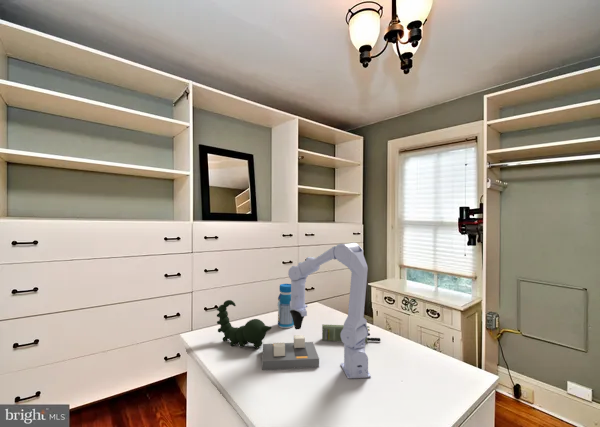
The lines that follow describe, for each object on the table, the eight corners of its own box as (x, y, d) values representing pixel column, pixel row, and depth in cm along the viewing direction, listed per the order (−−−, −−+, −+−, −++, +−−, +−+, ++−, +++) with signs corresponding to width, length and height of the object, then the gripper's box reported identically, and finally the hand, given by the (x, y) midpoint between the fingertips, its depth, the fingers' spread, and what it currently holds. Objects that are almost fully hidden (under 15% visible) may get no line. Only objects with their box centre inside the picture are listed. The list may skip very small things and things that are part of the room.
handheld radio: (322, 338, 126) (379, 340, 124) (322, 341, 122) (381, 344, 120) (322, 323, 126) (379, 325, 124) (322, 326, 122) (381, 328, 120)
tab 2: (304, 347, 108) (304, 338, 108) (294, 348, 108) (294, 338, 108) (303, 344, 111) (303, 335, 111) (293, 344, 111) (293, 335, 111)
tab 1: (284, 355, 101) (285, 346, 102) (273, 356, 101) (273, 346, 101) (284, 352, 104) (284, 342, 105) (273, 352, 104) (273, 343, 104)
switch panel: (319, 367, 100) (319, 358, 100) (262, 370, 98) (262, 361, 98) (312, 349, 114) (312, 341, 114) (262, 351, 112) (262, 343, 112)
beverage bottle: (284, 330, 134) (285, 287, 135) (274, 325, 140) (274, 284, 141) (297, 325, 140) (298, 285, 140) (287, 321, 146) (287, 282, 146)
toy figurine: (213, 349, 118) (267, 354, 109) (211, 302, 119) (264, 304, 110) (227, 340, 126) (277, 344, 118) (224, 297, 127) (274, 297, 119)
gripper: (314, 298, 110) (313, 334, 110) (300, 290, 124) (300, 321, 123) (297, 300, 108) (296, 336, 107) (285, 291, 121) (285, 323, 121)
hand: (297, 328), depth 115 cm, fingers closed
